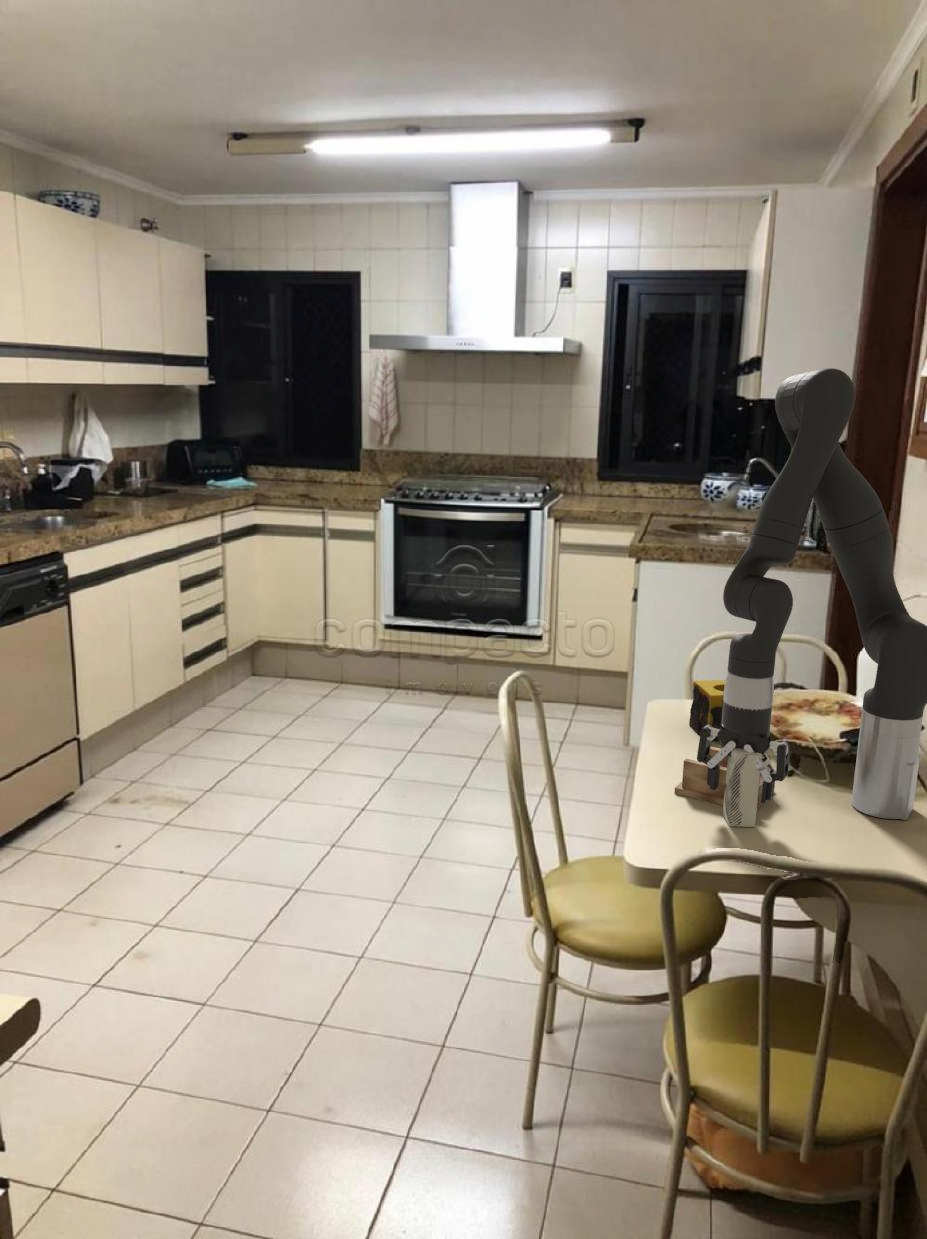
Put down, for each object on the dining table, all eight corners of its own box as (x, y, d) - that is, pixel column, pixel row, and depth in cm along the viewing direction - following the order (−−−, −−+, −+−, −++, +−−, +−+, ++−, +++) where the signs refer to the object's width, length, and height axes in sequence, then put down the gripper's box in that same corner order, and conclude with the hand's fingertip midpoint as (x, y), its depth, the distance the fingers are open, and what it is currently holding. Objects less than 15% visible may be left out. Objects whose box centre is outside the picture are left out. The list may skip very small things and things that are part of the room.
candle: (688, 725, 202) (691, 680, 200) (734, 724, 203) (738, 679, 201) (705, 742, 192) (708, 695, 190) (753, 741, 193) (757, 694, 191)
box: (721, 814, 160) (727, 741, 157) (748, 814, 160) (754, 741, 157) (729, 828, 155) (735, 753, 152) (756, 828, 154) (763, 753, 151)
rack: (773, 791, 169) (776, 759, 168) (753, 813, 160) (756, 779, 159) (697, 773, 177) (699, 742, 175) (674, 793, 168) (676, 760, 166)
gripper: (800, 702, 152) (789, 798, 155) (713, 686, 159) (705, 777, 163) (785, 715, 146) (775, 814, 149) (696, 697, 153) (688, 791, 157)
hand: (739, 794), depth 156 cm, fingers open, 8 cm apart
